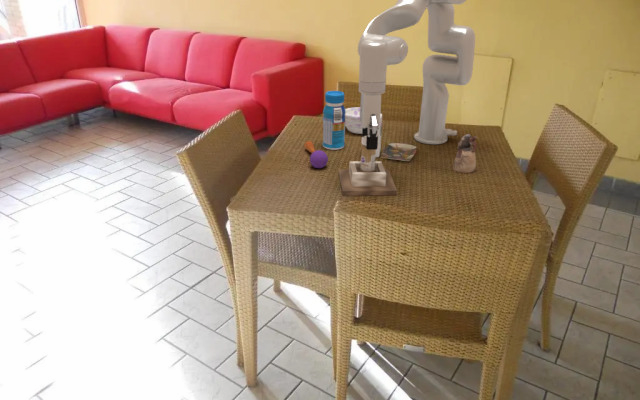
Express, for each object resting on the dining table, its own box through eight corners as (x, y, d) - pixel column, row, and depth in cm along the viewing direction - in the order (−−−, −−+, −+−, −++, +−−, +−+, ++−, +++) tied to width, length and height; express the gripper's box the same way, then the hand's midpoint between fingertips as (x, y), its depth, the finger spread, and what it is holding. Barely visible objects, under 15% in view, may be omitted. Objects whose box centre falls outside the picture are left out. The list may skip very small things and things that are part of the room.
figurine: (459, 163, 166) (464, 129, 160) (478, 169, 161) (484, 134, 156) (448, 168, 161) (453, 134, 156) (467, 175, 157) (473, 139, 151)
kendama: (318, 138, 176) (331, 154, 157) (315, 154, 178) (327, 171, 160) (302, 136, 174) (313, 152, 156) (299, 152, 176) (310, 169, 158)
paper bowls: (367, 122, 204) (368, 104, 201) (386, 133, 192) (387, 114, 188) (335, 127, 199) (335, 108, 195) (352, 138, 187) (352, 119, 183)
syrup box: (379, 157, 169) (381, 117, 163) (362, 156, 170) (364, 116, 164) (380, 151, 174) (383, 112, 168) (364, 150, 175) (366, 111, 169)
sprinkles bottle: (356, 179, 149) (358, 137, 143) (365, 175, 152) (367, 134, 146) (368, 183, 146) (371, 141, 141) (377, 178, 149) (380, 137, 144)
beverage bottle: (318, 148, 177) (319, 94, 168) (327, 141, 184) (328, 89, 175) (340, 151, 174) (342, 97, 165) (348, 144, 181) (350, 91, 172)
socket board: (387, 173, 157) (388, 157, 155) (396, 195, 143) (398, 178, 141) (338, 173, 157) (339, 157, 154) (342, 195, 142) (343, 178, 140)
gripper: (355, 78, 144) (353, 133, 152) (362, 94, 128) (360, 154, 136) (380, 78, 144) (377, 132, 152) (390, 94, 129) (386, 154, 137)
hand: (369, 143), depth 144 cm, fingers open, 9 cm apart
